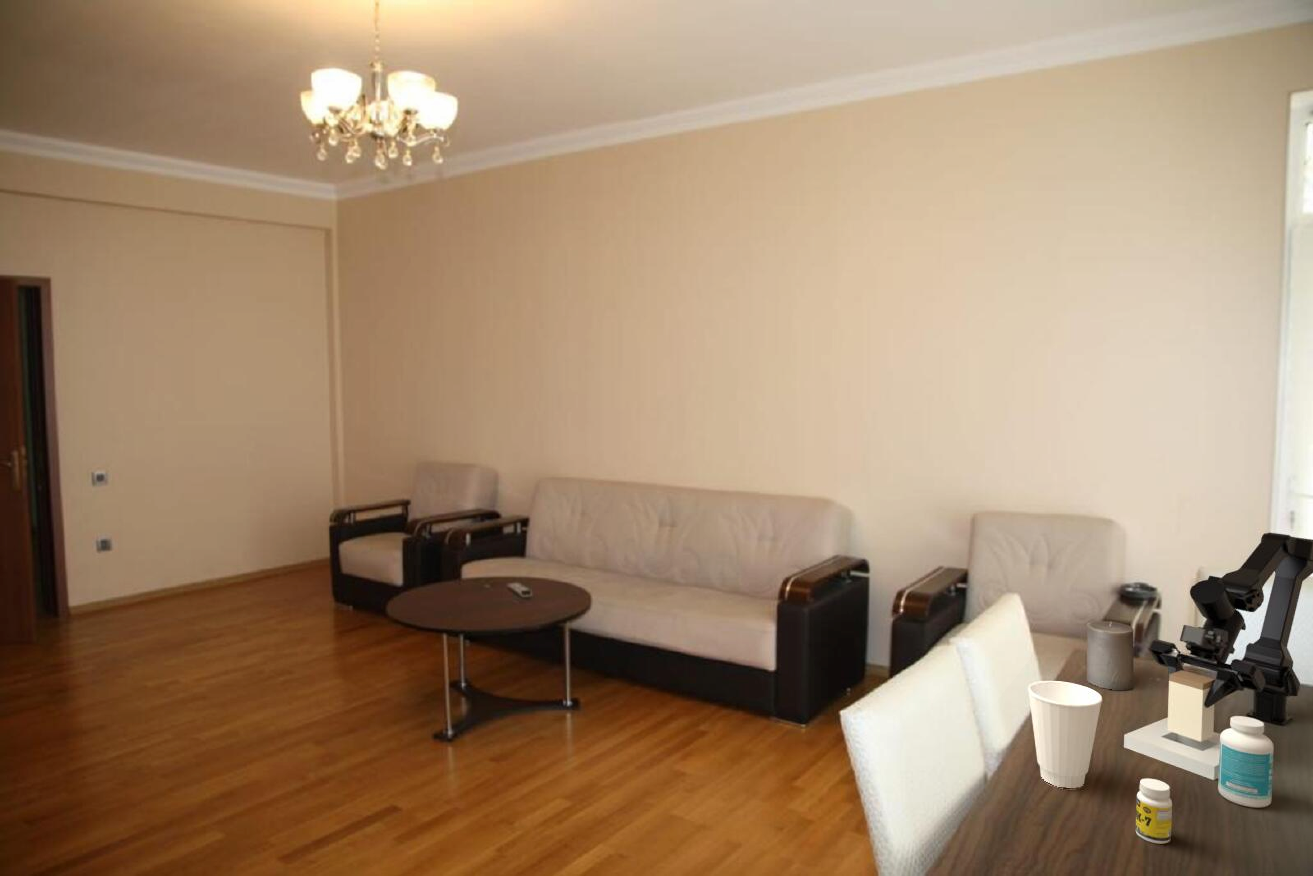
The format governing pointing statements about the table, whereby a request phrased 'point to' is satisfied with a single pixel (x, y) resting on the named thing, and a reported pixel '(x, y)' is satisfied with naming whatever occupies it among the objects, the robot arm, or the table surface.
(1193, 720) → the tan topped cream pillar
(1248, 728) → the pill bottle
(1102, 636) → the pillar candle
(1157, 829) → the supplement bottle
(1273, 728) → the table surface
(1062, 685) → the cup
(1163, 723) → the socket plate
